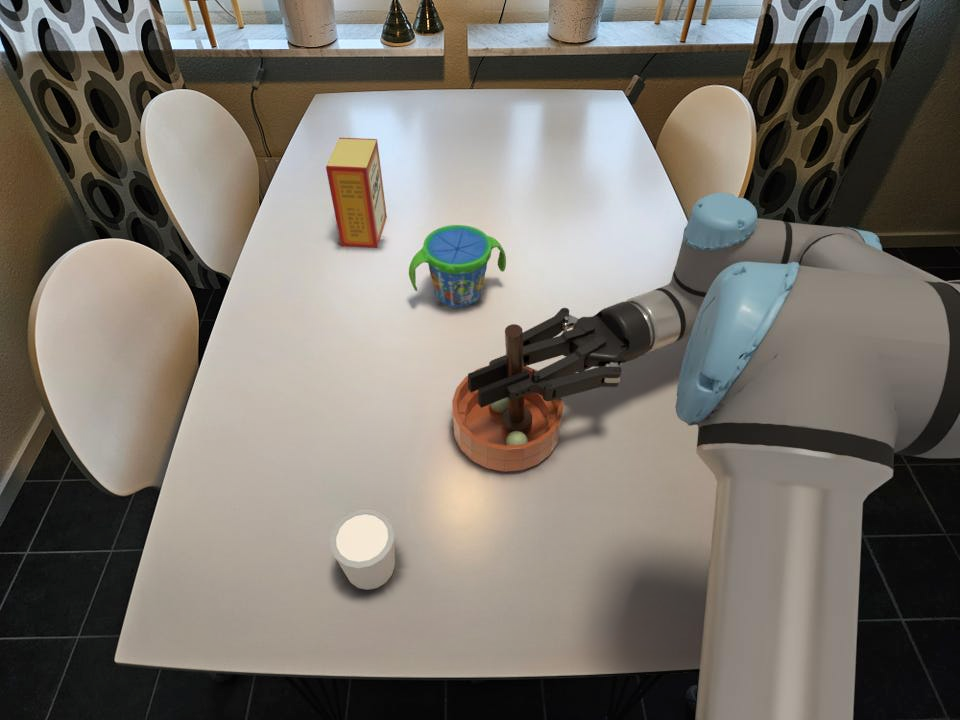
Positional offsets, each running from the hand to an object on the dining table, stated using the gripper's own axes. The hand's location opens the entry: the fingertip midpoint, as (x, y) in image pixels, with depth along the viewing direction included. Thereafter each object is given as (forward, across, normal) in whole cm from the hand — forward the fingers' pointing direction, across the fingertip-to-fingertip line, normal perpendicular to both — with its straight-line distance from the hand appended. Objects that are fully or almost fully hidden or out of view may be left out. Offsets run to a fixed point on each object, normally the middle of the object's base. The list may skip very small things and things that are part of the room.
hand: (474, 390), depth 77 cm
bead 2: (-4, -3, -10) cm, 11 cm away
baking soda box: (-4, +52, -12) cm, 53 cm away
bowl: (-5, +1, -12) cm, 13 cm away
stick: (-6, 0, -10) cm, 12 cm away
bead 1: (-6, +4, -10) cm, 12 cm away
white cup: (+18, -9, -12) cm, 24 cm away
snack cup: (-11, +28, -12) cm, 33 cm away
